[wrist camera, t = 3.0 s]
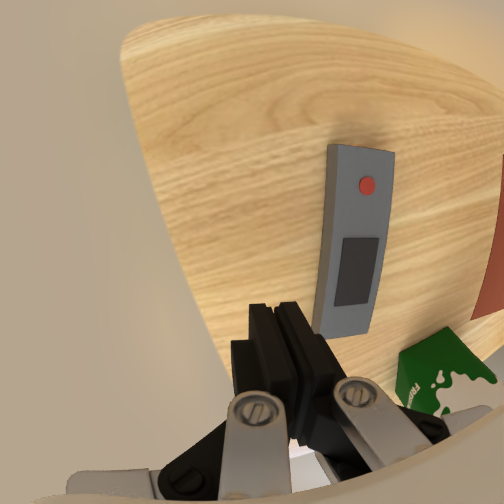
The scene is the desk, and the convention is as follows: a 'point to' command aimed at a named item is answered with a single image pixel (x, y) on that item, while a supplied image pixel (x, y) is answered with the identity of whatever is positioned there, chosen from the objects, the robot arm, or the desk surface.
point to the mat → (494, 269)
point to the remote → (352, 238)
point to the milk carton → (445, 377)
